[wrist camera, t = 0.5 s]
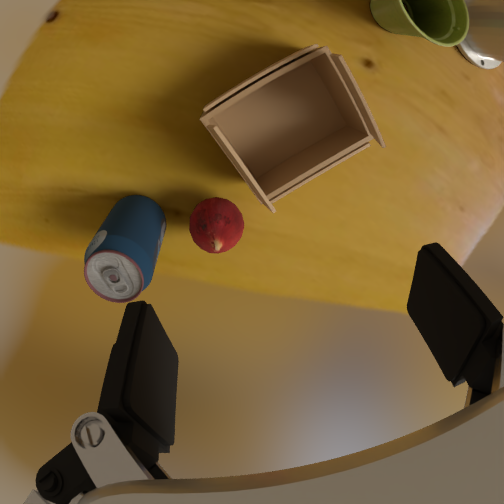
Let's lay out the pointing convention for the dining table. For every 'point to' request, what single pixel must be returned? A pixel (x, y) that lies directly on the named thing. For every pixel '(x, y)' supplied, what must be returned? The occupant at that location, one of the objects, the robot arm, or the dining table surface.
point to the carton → (290, 121)
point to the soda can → (125, 249)
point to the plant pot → (424, 19)
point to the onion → (216, 225)
